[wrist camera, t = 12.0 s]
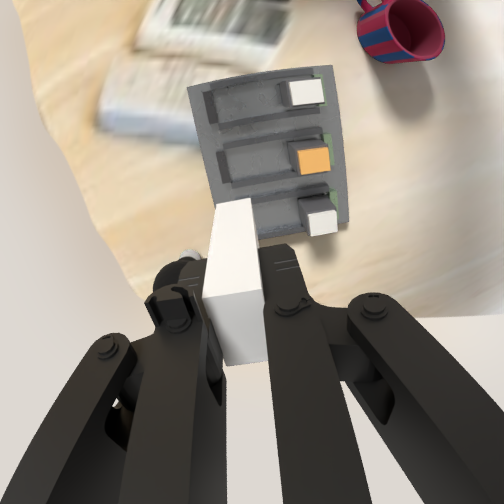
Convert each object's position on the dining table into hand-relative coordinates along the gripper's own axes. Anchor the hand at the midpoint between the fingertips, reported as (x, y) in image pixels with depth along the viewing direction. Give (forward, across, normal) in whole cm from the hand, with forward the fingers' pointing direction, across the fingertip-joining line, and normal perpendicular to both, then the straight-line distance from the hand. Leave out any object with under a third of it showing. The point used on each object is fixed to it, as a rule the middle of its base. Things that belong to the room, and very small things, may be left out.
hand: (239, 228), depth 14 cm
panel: (+19, +4, -1) cm, 19 cm away
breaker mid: (+17, +6, -1) cm, 18 cm away
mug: (+19, +17, +13) cm, 28 cm away
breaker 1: (+17, +7, +5) cm, 19 cm away
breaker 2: (+17, +7, -7) cm, 19 cm away
